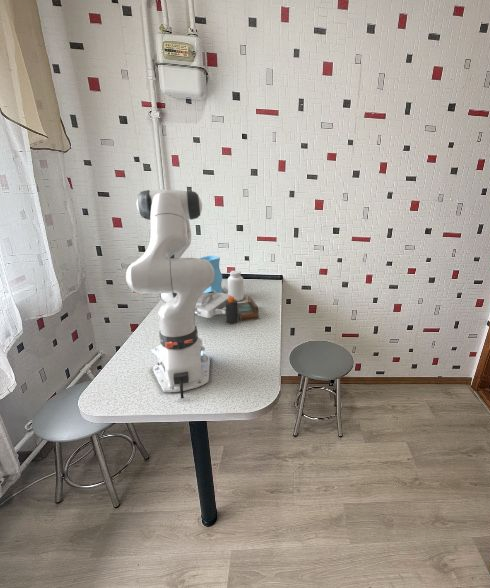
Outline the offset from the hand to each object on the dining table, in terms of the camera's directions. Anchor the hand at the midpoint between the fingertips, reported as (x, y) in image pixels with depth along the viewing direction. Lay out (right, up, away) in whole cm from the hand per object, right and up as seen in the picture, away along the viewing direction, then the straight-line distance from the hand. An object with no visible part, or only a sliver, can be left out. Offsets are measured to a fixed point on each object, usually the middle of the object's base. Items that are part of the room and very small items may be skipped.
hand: (231, 307), depth 148 cm
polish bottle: (0, -6, +3) cm, 7 cm away
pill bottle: (-5, +3, +28) cm, 28 cm away
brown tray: (+4, -3, +11) cm, 12 cm away
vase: (-19, +7, +33) cm, 39 cm away
